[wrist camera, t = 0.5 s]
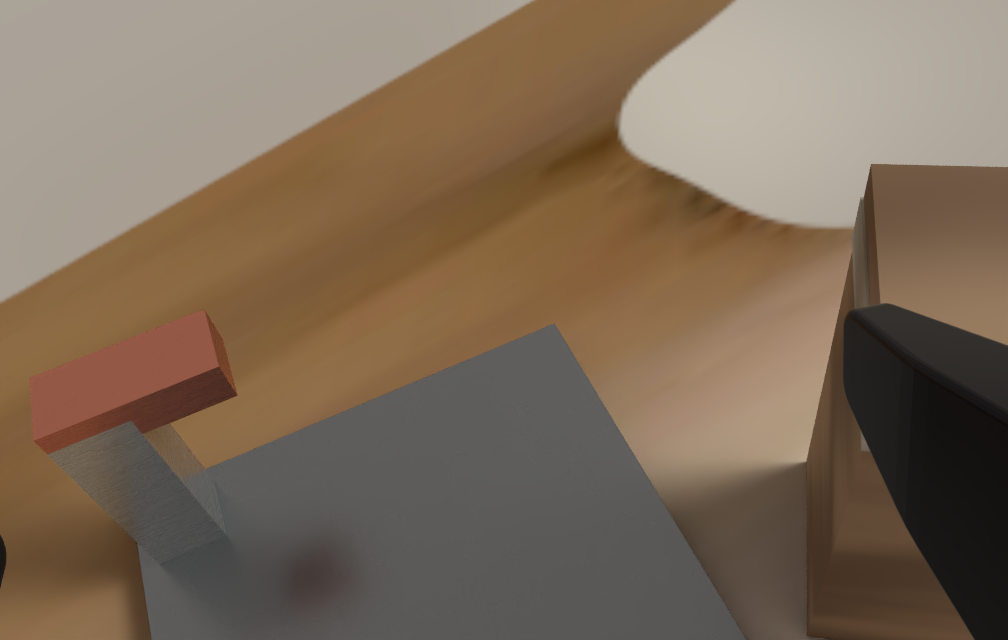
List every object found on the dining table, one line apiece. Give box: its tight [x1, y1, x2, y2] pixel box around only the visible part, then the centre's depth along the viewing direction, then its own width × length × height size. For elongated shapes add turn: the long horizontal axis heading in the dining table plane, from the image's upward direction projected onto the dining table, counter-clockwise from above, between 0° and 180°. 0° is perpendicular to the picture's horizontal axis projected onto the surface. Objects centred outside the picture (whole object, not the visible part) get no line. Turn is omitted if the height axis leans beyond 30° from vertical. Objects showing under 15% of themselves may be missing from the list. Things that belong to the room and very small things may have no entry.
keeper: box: [29, 310, 746, 640], centre depth 22 cm, size 14×14×7 cm
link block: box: [806, 164, 1008, 640], centre depth 19 cm, size 5×5×11 cm
